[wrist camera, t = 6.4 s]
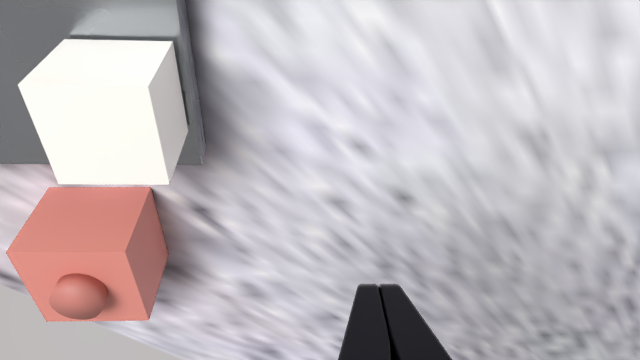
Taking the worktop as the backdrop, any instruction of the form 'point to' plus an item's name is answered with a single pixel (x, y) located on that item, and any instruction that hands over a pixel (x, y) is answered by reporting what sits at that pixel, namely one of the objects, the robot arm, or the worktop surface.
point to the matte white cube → (108, 111)
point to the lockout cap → (92, 253)
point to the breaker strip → (88, 24)
